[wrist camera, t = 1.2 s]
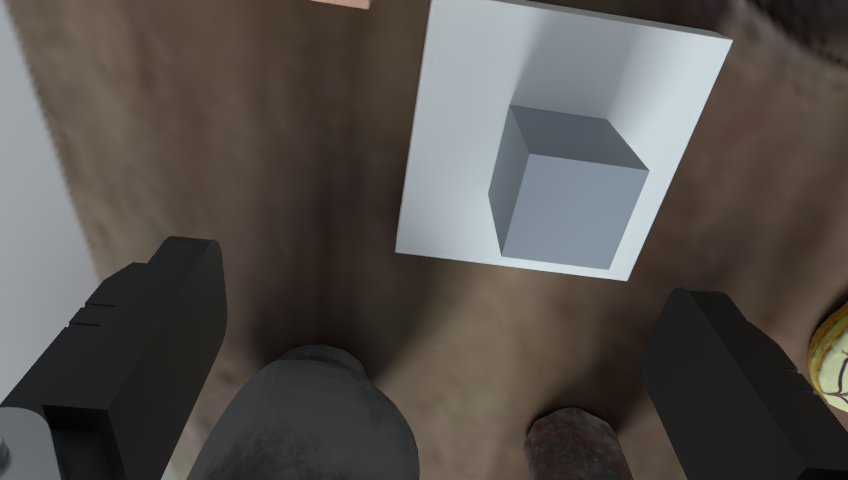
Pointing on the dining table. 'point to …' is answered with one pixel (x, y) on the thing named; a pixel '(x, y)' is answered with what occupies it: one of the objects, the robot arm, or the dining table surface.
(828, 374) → the decorated donut
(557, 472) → the brown cylinder
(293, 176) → the dining table surface
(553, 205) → the slate block
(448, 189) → the white flat square slab
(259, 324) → the dining table surface
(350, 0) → the peach block
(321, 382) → the pitcher
